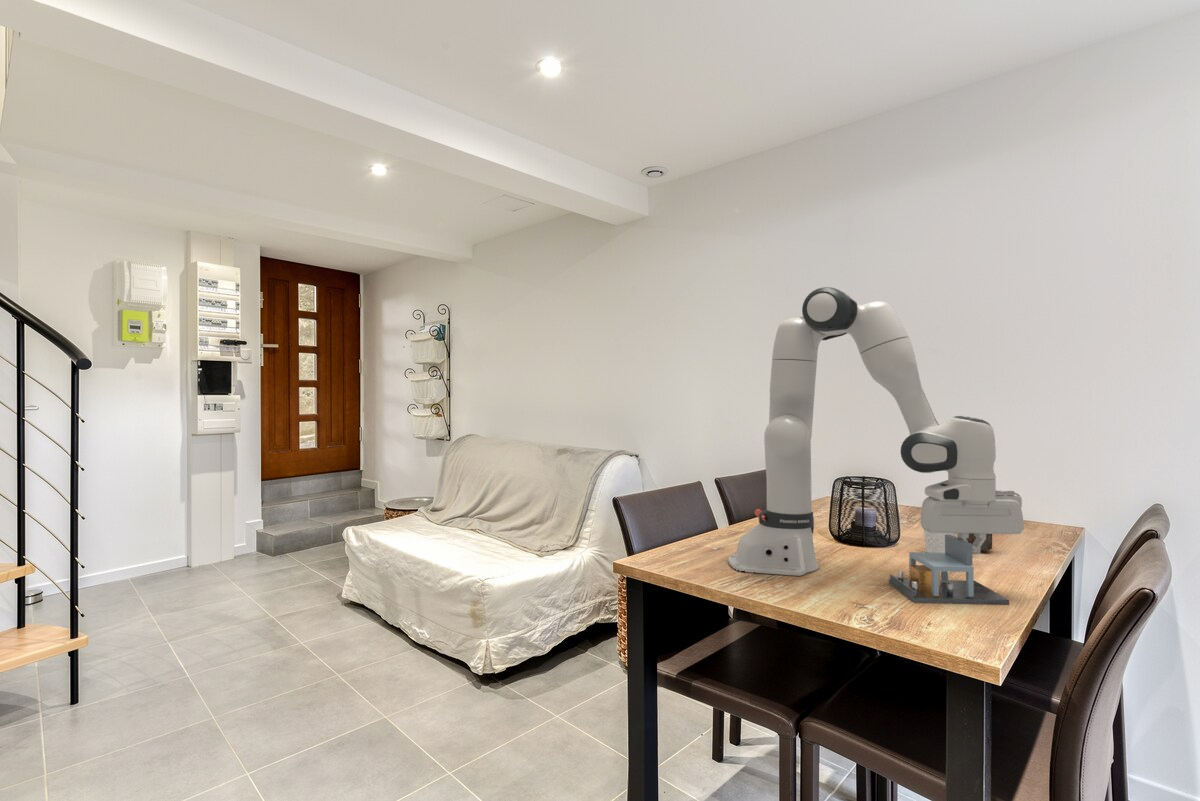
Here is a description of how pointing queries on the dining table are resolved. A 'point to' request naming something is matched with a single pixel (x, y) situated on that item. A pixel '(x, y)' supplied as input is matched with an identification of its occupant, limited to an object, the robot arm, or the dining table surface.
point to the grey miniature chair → (948, 562)
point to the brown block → (922, 577)
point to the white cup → (935, 542)
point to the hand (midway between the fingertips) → (971, 553)
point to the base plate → (947, 592)
